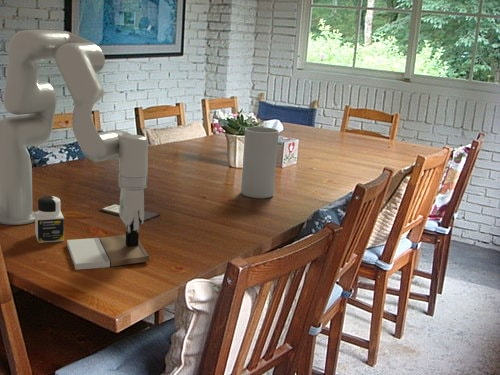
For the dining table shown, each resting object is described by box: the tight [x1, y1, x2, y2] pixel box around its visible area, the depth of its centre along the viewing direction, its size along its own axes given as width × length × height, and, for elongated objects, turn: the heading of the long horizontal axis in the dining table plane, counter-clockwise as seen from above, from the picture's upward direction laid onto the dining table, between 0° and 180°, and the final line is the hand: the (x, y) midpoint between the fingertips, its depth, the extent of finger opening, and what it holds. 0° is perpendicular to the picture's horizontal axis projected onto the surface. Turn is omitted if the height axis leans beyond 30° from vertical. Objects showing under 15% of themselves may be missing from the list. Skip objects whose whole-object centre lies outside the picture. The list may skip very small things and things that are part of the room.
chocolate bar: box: [99, 203, 161, 223], centre depth 211 cm, size 9×1×18 cm
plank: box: [98, 234, 150, 267], centre depth 176 cm, size 10×18×2 cm, turn 22°
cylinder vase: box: [240, 126, 280, 200], centre depth 241 cm, size 12×12×25 cm
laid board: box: [66, 237, 111, 271], centre depth 173 cm, size 9×18×2 cm, turn 22°
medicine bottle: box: [34, 195, 65, 244], centre depth 182 cm, size 7×7×12 cm
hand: (131, 245), depth 177 cm, fingers closed
